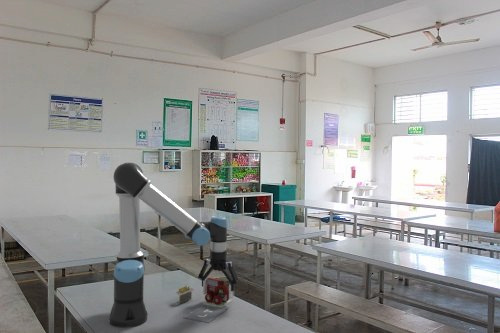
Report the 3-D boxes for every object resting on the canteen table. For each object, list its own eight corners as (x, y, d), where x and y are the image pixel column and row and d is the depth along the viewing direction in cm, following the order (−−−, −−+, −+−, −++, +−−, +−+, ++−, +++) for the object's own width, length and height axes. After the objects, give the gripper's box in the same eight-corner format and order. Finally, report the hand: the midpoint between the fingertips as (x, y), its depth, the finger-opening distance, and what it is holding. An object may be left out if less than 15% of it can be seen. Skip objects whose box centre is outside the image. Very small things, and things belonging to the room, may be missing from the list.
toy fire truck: (223, 306, 183) (223, 283, 183) (202, 301, 190) (202, 279, 190) (232, 302, 189) (232, 280, 189) (211, 297, 196) (211, 275, 196)
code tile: (208, 322, 166) (208, 322, 166) (183, 317, 171) (183, 317, 171) (226, 310, 180) (226, 309, 180) (203, 305, 185) (203, 305, 185)
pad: (222, 307, 183) (222, 306, 183) (203, 304, 187) (203, 303, 187) (232, 301, 192) (232, 300, 192) (213, 297, 196) (213, 297, 196)
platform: (161, 304, 188) (161, 290, 188) (187, 293, 203) (187, 280, 203) (180, 309, 181) (181, 295, 181) (206, 298, 197) (206, 285, 196)
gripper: (246, 251, 188) (245, 297, 188) (199, 246, 198) (199, 289, 198) (239, 254, 181) (238, 302, 181) (191, 249, 191) (190, 294, 191)
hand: (217, 295), depth 190 cm, fingers open, 13 cm apart
